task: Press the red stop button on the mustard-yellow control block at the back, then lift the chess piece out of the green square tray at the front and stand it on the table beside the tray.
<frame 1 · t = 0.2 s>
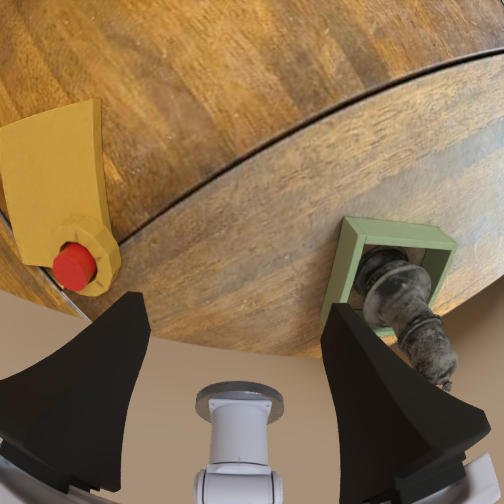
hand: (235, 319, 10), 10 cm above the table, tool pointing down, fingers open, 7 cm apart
stop button: (74, 267, 16), point 3 cm above the table, slide at 0.1 cm
chess piece: (380, 271, 21), resting in green square tray
green square tray: (381, 272, 21), on the table
control block: (52, 191, 17), on the table
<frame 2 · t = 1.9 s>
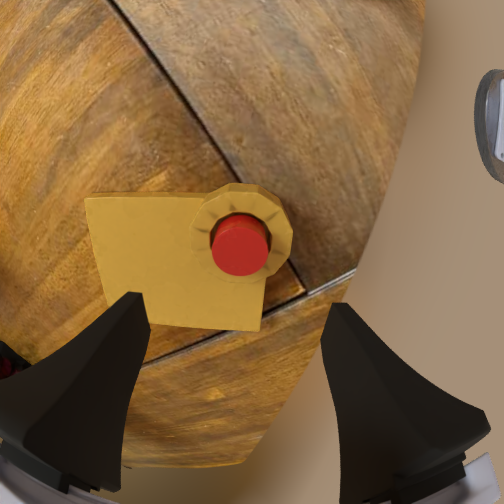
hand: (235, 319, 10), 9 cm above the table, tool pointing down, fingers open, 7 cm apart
stop button: (240, 245, 15), point 3 cm above the table, slide at 0.1 cm
control block: (177, 263, 20), on the table
flower arrangement: (45, 380, 32), on the table
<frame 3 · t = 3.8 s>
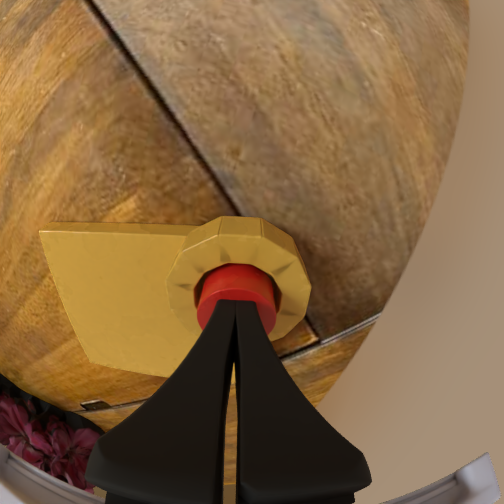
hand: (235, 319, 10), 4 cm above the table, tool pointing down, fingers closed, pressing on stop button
stop button: (237, 305, 11), point 3 cm above the table, slide at -0.1 cm, touching gripper
control block: (159, 309, 15), on the table
flower arrangement: (34, 402, 27), on the table
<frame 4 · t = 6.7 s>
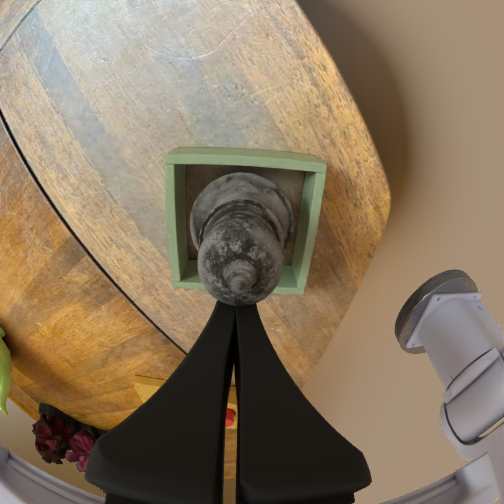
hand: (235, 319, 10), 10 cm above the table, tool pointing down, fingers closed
stop button: (221, 416, 27), point 3 cm above the table, slide at 0.1 cm
chess piece: (242, 215, 19), resting in green square tray, touching gripper
green square tray: (242, 213, 19), on the table
control block: (189, 402, 32), on the table
flower arrangement: (88, 429, 44), on the table
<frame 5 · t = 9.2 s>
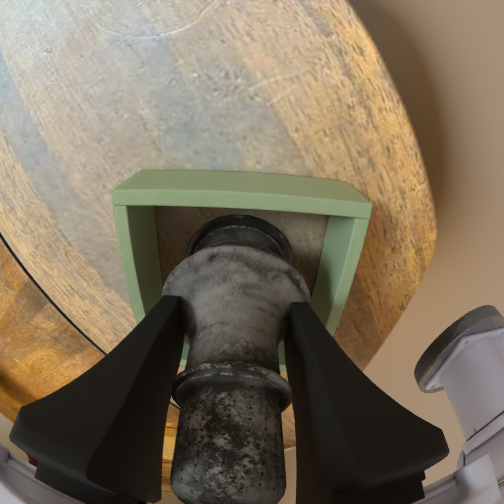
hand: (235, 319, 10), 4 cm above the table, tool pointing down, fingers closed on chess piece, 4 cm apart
chess piece: (238, 262, 14), resting in green square tray, touching gripper
green square tray: (238, 264, 13), on the table
control block: (183, 444, 26), on the table
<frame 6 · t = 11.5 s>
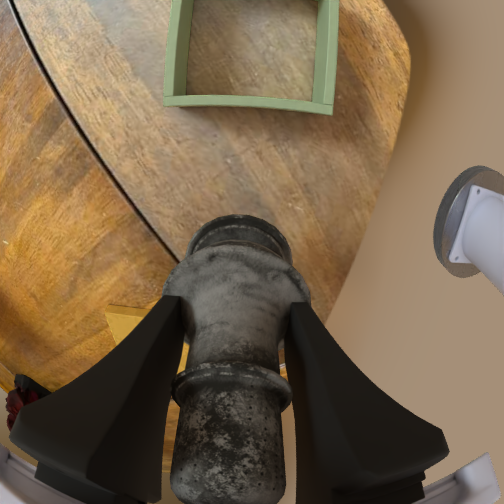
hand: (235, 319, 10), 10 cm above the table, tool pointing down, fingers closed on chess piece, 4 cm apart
chess piece: (238, 262, 14), point 6 cm above the table, touching gripper
green square tray: (252, 42, 13), on the table
control block: (177, 349, 26), on the table
flower arrangement: (67, 406, 38), on the table
when the fingers open (4 cm above the table, at t = 13.7 s): chess piece stays where it is, on the table.
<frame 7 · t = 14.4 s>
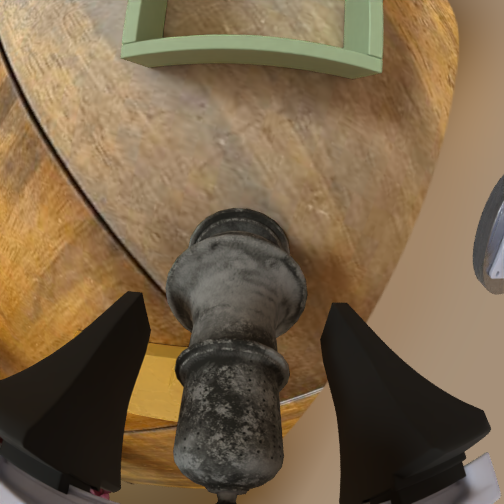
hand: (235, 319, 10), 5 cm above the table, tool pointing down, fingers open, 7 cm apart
chess piece: (238, 254, 14), on the table
control block: (163, 383, 20), on the table
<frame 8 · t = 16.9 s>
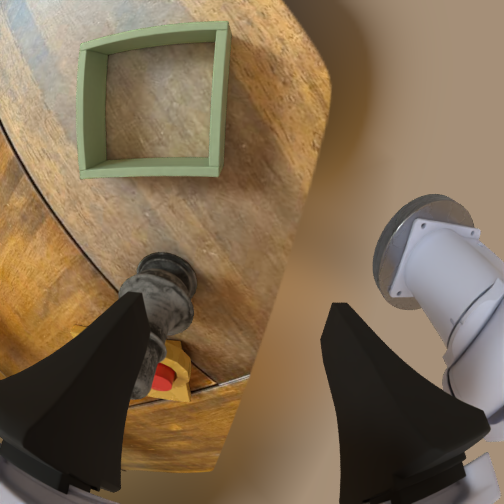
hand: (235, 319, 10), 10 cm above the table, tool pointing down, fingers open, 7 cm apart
stop button: (158, 376, 23), point 3 cm above the table, slide at 0.1 cm
chess piece: (166, 278, 22), on the table
green square tray: (157, 100, 15), on the table
control block: (134, 364, 28), on the table
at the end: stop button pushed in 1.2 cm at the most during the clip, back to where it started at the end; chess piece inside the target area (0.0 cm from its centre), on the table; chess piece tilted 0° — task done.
